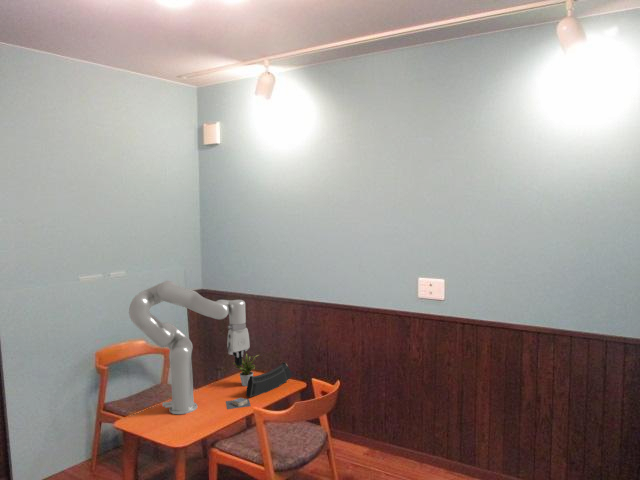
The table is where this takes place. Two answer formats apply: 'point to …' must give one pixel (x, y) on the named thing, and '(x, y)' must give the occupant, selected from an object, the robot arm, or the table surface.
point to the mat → (232, 406)
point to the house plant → (246, 370)
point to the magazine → (268, 380)
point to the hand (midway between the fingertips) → (238, 364)
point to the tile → (239, 401)
